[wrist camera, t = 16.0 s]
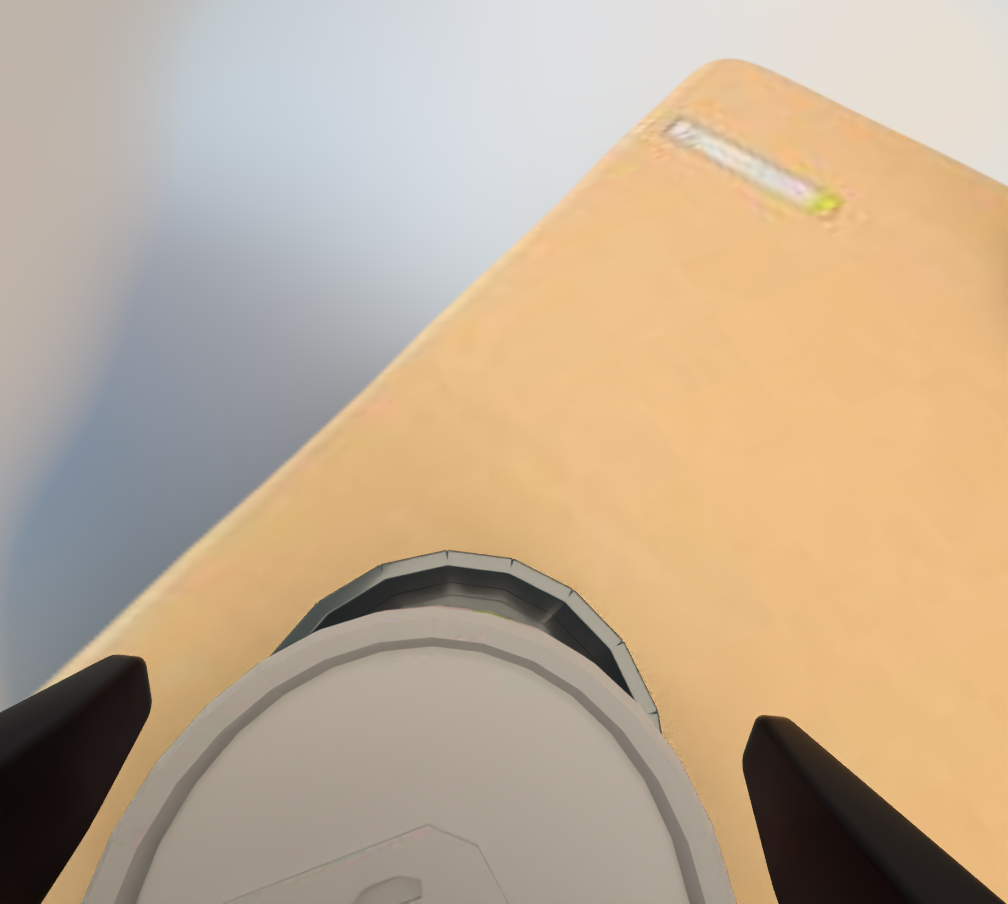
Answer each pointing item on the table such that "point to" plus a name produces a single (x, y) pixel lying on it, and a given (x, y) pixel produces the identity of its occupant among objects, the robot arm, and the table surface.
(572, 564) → the table surface
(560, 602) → the dark round bowl
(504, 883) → the beverage can
